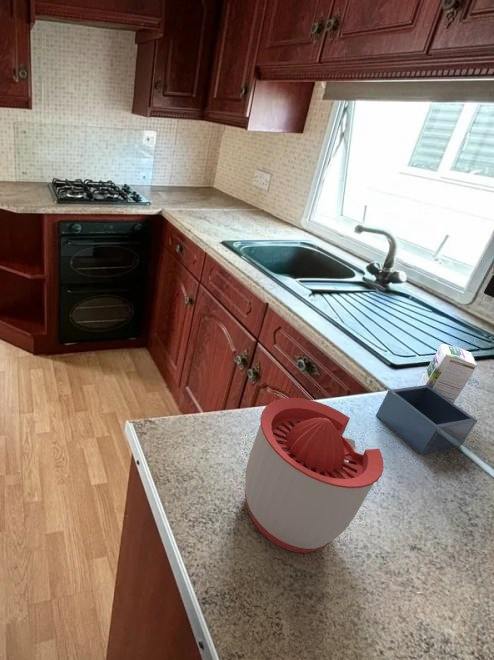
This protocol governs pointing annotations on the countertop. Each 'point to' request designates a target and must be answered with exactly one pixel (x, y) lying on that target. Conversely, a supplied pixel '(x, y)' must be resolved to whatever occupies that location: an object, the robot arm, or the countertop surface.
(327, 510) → the citrus juicer
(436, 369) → the syrup box
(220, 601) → the countertop surface
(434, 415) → the box
